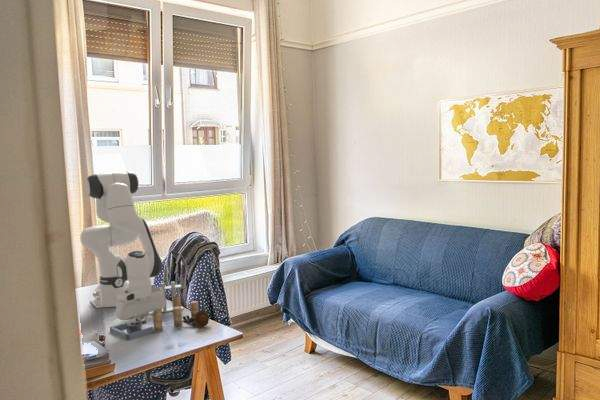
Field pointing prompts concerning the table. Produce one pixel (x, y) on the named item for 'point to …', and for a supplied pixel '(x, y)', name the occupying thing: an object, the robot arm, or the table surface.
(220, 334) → the table surface
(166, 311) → the test tube rack
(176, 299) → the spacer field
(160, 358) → the table surface
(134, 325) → the hex nut
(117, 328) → the tray
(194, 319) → the toy
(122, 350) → the table surface
